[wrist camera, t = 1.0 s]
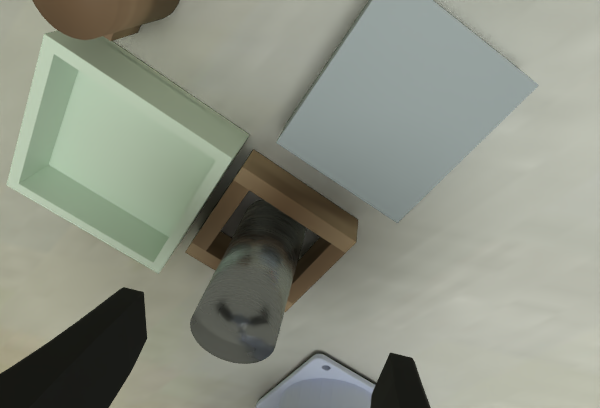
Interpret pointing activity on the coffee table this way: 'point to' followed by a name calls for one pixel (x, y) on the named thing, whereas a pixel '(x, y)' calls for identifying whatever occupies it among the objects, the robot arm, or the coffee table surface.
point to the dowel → (250, 287)
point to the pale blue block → (402, 103)
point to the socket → (293, 202)
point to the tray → (118, 147)
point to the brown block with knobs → (103, 16)
